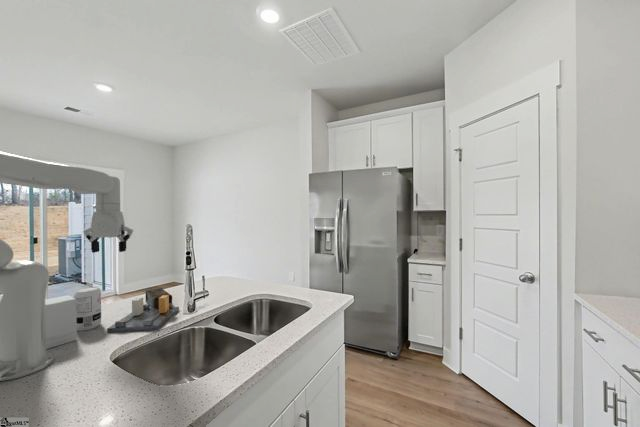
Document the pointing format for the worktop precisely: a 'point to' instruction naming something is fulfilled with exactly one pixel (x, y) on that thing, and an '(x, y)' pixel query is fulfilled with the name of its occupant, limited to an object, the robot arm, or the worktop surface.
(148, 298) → the beverage carton
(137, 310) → the cream fader
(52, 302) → the supplement box
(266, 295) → the worktop surface
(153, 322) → the console
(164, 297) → the orange fader
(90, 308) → the supplement can
